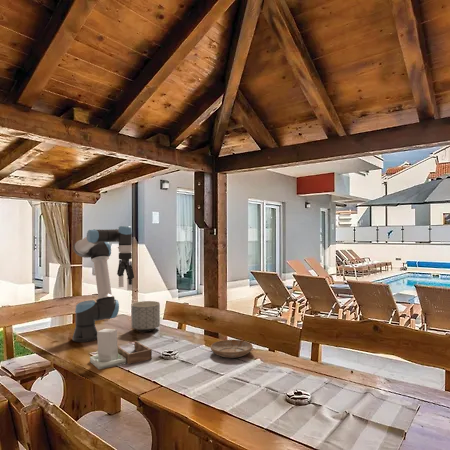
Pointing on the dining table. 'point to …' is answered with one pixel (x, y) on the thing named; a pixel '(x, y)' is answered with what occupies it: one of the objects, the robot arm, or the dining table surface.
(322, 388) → the dining table surface
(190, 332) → the dining table surface
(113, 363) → the tray
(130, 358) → the box
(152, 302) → the planter
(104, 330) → the skincare box
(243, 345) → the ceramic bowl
